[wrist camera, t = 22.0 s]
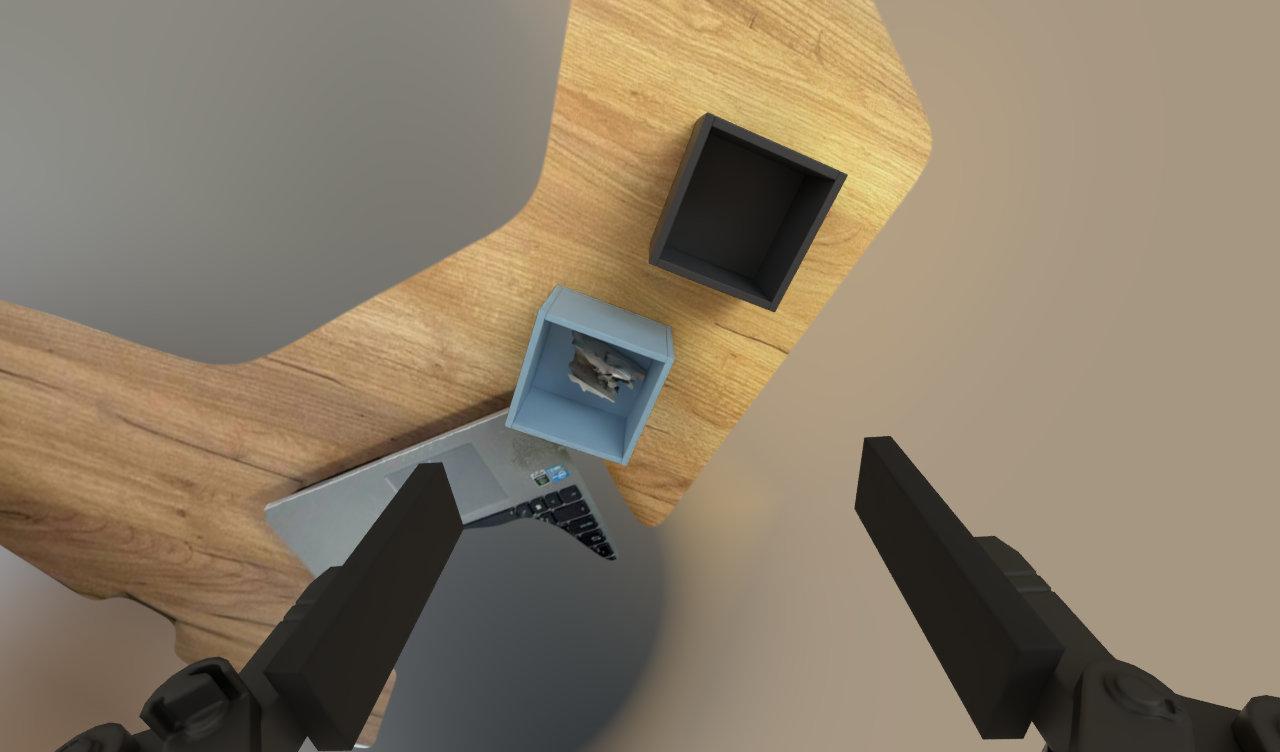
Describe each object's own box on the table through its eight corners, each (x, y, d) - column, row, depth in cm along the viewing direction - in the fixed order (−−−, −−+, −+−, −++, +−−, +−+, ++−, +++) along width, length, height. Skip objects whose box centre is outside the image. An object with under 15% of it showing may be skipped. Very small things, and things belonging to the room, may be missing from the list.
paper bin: (671, 326, 44) (674, 359, 37) (630, 421, 48) (626, 466, 42) (557, 284, 42) (538, 310, 36) (526, 386, 47) (504, 426, 40)
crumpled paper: (577, 320, 43) (564, 348, 37) (649, 364, 45) (648, 399, 39) (555, 355, 45) (538, 388, 39) (625, 396, 47) (620, 435, 40)
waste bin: (813, 170, 38) (848, 174, 31) (755, 286, 42) (774, 312, 35) (697, 119, 36) (707, 111, 30) (649, 244, 41) (648, 263, 34)
